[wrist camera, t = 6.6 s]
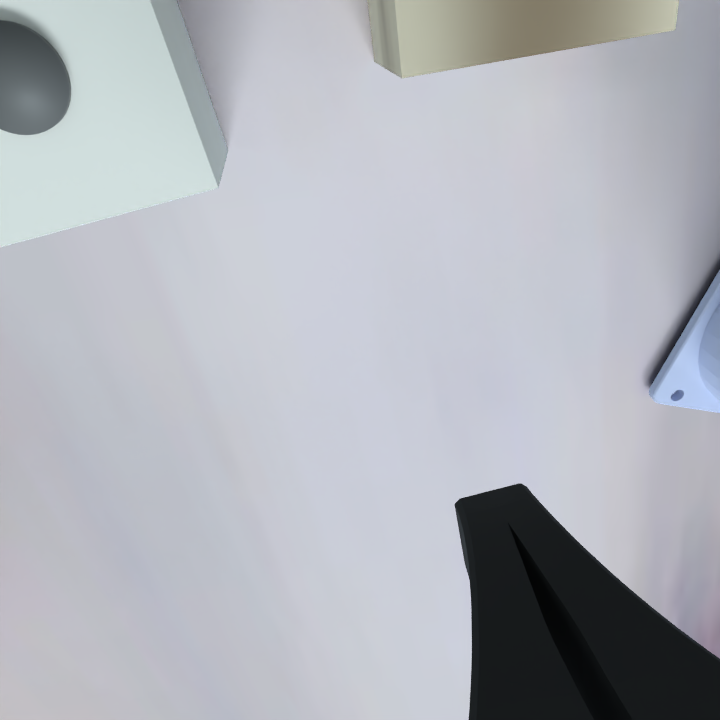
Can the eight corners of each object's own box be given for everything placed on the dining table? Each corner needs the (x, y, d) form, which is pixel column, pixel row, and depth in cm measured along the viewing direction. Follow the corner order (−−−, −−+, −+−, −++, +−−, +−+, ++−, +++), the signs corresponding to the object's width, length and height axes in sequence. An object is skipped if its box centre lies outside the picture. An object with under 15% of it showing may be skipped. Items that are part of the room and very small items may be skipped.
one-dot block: (136, -120, 13) (89, -163, 10) (228, 149, 16) (217, 190, 13) (-119, -49, 13) (-261, -67, 10) (22, 205, 16) (-45, 262, 13)
